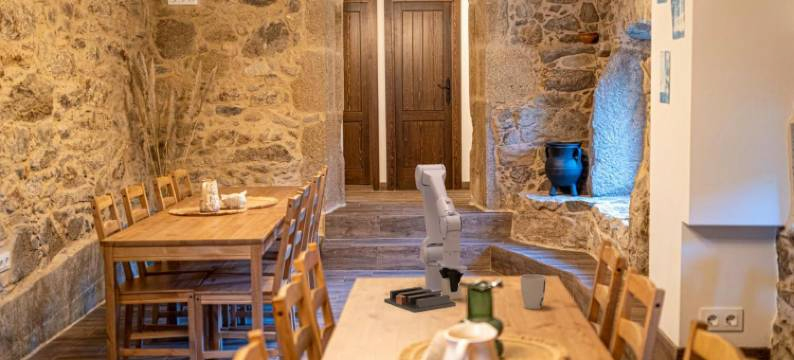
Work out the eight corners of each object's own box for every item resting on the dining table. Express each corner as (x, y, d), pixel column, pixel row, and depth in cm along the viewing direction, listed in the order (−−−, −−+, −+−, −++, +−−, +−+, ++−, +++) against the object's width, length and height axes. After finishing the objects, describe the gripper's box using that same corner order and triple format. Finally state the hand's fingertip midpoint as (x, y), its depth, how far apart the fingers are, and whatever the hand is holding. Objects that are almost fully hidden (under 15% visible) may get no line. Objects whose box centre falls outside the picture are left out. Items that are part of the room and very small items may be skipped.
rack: (424, 295, 308) (424, 285, 308) (455, 305, 293) (455, 295, 293) (384, 301, 299) (384, 291, 299) (414, 312, 284) (414, 301, 284)
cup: (547, 310, 286) (547, 279, 285) (521, 310, 286) (521, 279, 285) (543, 304, 294) (544, 274, 293) (518, 304, 294) (518, 274, 293)
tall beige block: (456, 296, 306) (456, 276, 305) (460, 298, 304) (460, 277, 303) (442, 299, 302) (442, 278, 302) (446, 300, 300) (446, 279, 300)
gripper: (429, 249, 305) (429, 288, 307) (454, 255, 293) (454, 296, 295) (446, 247, 309) (446, 286, 311) (471, 253, 297) (471, 293, 298)
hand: (451, 291), depth 303 cm, fingers closed on tall beige block, 2 cm apart
